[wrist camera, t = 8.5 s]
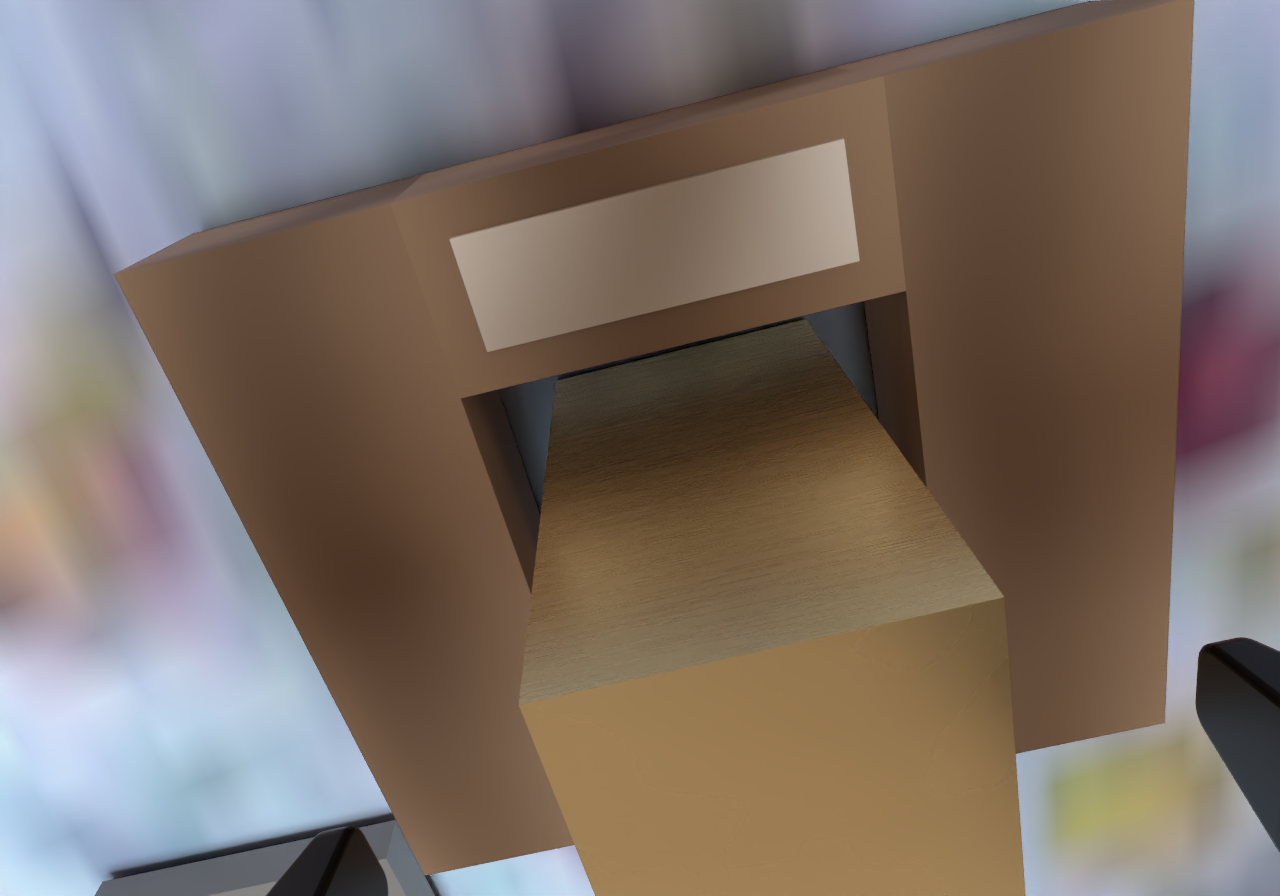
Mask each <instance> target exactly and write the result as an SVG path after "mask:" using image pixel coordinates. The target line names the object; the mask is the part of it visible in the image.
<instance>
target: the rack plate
mask: <svg viewBox="0 0 1280 896" xmlns="http://www.w3.org/2000/svg"><path fill="white" fill-rule="evenodd" d="M1193 16H1194V0H1102V1H1088V2H1084V3H1080V4H1076V5H1072V6H1069V7H1065V8H1061V9H1057V10H1053V11H1049V12H1045V13H1042V14H1038V15H1034V16H1030V17H1026V18H1022V19H1018V20H1015V21H1011V22H1007V23H1003V24H999V25H995V26H991V27H988V28H984V29H980V30H976V31H972V32H968V33H964V34H961V35H957V36H953V37H949V38H945V39H941V40H937V41H934V42H930V43H926V44H922V45H918V46H914V47H910V48H907V49H903V50H899V51H895V52H891V53H887V54H883V55H880V56H876V57H872V58H868V59H864V60H860V61H856V62H853V63H849V64H845V65H841V66H837V67H833V68H829V69H826V70H822V71H818V72H814V73H810V74H806V75H802V76H799V77H795V78H791V79H787V80H783V81H779V82H775V83H772V84H768V85H764V86H760V87H756V88H752V89H748V90H745V91H741V92H737V93H733V94H729V95H725V96H721V97H718V98H714V99H710V100H706V101H702V102H698V103H694V104H691V105H687V106H683V107H679V108H675V109H671V110H667V111H664V112H660V113H656V114H652V115H648V116H644V117H640V118H637V119H633V120H629V121H625V122H621V123H617V124H613V125H610V126H606V127H602V128H598V129H594V130H590V131H587V132H583V133H579V134H575V135H571V136H567V137H563V138H560V139H556V140H552V141H548V142H544V143H540V144H536V145H533V146H529V147H525V148H521V149H517V150H513V151H509V152H506V153H502V154H498V155H494V156H490V157H486V158H482V159H479V160H475V161H471V162H467V163H463V164H459V165H455V166H452V167H448V168H444V169H440V170H436V171H432V172H428V173H425V174H421V175H417V176H413V177H409V178H405V179H401V180H398V181H394V182H390V183H386V184H382V185H378V186H374V187H371V188H367V189H363V190H359V191H355V192H351V193H347V194H344V195H340V196H336V197H332V198H328V199H324V200H320V201H317V202H313V203H309V204H305V205H301V206H297V207H293V208H290V209H286V210H282V211H278V212H274V213H270V214H266V215H263V216H259V217H255V218H251V219H247V220H243V221H239V222H236V223H232V224H228V225H224V226H220V227H216V228H212V229H209V230H205V231H201V232H197V233H193V234H191V235H189V236H187V237H185V238H184V239H182V240H180V241H178V242H176V243H174V244H172V245H170V246H168V247H166V248H164V249H162V250H160V251H158V252H156V253H155V254H153V255H151V256H149V257H147V258H145V259H143V260H141V261H139V262H137V263H135V264H133V265H131V266H129V267H127V268H125V269H124V270H122V271H120V272H118V273H116V274H114V276H115V278H116V280H117V282H118V284H119V285H120V287H121V289H122V291H123V293H124V295H125V297H126V299H127V301H128V303H129V305H130V307H131V309H132V311H133V313H134V314H135V316H136V318H137V320H138V322H139V324H140V326H141V328H142V330H143V332H144V334H145V336H146V338H147V340H148V341H149V343H150V345H151V347H152V349H153V351H154V353H155V355H156V357H157V359H158V361H159V363H160V365H161V367H162V369H163V370H164V372H165V374H166V376H167V378H168V380H169V382H170V384H171V386H172V388H173V390H174V392H175V394H176V396H177V398H178V399H179V401H180V403H181V405H182V407H183V409H184V411H185V413H186V415H187V417H188V419H189V421H190V423H191V425H192V427H193V428H194V430H195V432H196V434H197V436H198V438H199V440H200V442H201V444H202V446H203V448H204V450H205V452H206V454H207V456H208V457H209V459H210V461H211V463H212V465H213V467H214V469H215V471H216V473H217V475H218V477H219V479H220V481H221V483H222V484H223V486H224V488H225V490H226V492H227V494H228V496H229V498H230V500H231V502H232V504H233V506H234V508H235V510H236V512H237V513H238V515H239V517H240V519H241V521H242V523H243V525H244V527H245V529H246V531H247V533H248V535H249V537H250V539H251V541H252V542H253V544H254V546H255V548H256V550H257V552H258V554H259V556H260V558H261V560H262V562H263V564H264V566H265V568H266V570H267V571H268V573H269V575H270V577H271V579H272V581H273V583H274V585H275V587H276V589H277V591H278V593H279V595H280V597H281V598H282V600H283V602H284V604H285V606H286V608H287V610H288V612H289V614H290V616H291V618H292V620H293V622H294V624H295V626H296V627H297V629H298V631H299V633H300V635H301V637H302V639H303V641H304V643H305V645H306V647H307V649H308V651H309V653H310V655H311V656H312V658H313V660H314V662H315V664H316V666H317V668H318V670H319V672H320V674H321V676H322V678H323V680H324V682H325V684H326V685H327V687H328V689H329V691H330V693H331V695H332V697H333V699H334V701H335V703H336V705H337V707H338V709H339V711H340V712H341V714H342V716H343V718H344V720H345V722H346V724H347V726H348V728H349V730H350V732H351V734H352V736H353V738H354V740H355V741H356V743H357V745H358V747H359V749H360V751H361V753H362V755H363V757H364V759H365V761H366V763H367V765H368V767H369V769H370V770H371V772H372V774H373V776H374V778H375V780H376V782H377V784H378V786H379V788H380V790H381V792H382V794H383V796H384V798H385V799H386V801H387V803H388V805H389V807H390V809H391V811H392V813H393V815H394V817H395V819H396V821H397V823H398V825H399V826H400V828H401V830H402V832H403V834H404V836H405V838H406V840H407V842H408V844H409V846H410V848H411V850H412V852H413V854H414V855H415V857H416V859H417V861H418V863H419V865H420V867H421V869H422V871H423V873H424V875H425V876H426V875H431V874H435V873H440V872H445V871H450V870H455V869H460V868H464V867H469V866H474V865H479V864H484V863H489V862H493V861H498V860H503V859H508V858H513V857H518V856H523V855H527V854H532V853H537V852H542V851H547V850H552V849H556V848H561V847H566V846H571V845H575V844H574V842H573V839H572V837H571V834H570V832H569V829H568V827H567V824H566V822H565V819H564V817H563V814H562V812H561V809H560V807H559V804H558V802H557V799H556V797H555V794H554V792H553V789H552V787H551V784H550V782H549V779H548V777H547V774H546V772H545V769H544V767H543V764H542V762H541V759H540V757H539V754H538V752H537V750H536V747H535V745H534V742H533V740H532V737H531V735H530V732H529V730H528V727H527V725H526V722H525V720H524V717H523V715H522V712H521V710H520V707H519V698H520V689H521V680H522V672H523V663H524V654H525V646H526V637H527V628H528V620H529V611H530V603H531V594H532V585H533V577H534V568H535V559H536V551H537V542H538V533H539V525H540V513H539V510H538V507H537V504H536V501H535V498H534V495H533V492H532V489H531V486H530V483H529V481H528V478H527V475H526V472H525V469H524V466H523V463H522V460H521V457H520V454H519V451H518V448H517V445H516V442H515V439H514V436H513V433H512V430H511V427H510V424H509V421H508V418H507V415H506V412H505V409H504V406H503V403H502V400H501V398H500V395H499V392H498V389H502V388H506V387H510V386H514V385H519V384H523V383H527V382H531V381H535V380H539V379H543V378H547V377H552V376H556V375H560V374H564V373H568V372H572V371H576V370H581V369H585V368H589V367H593V366H597V365H601V364H605V363H610V362H614V361H618V360H622V359H626V358H630V357H634V356H638V355H643V354H647V353H651V352H655V351H659V350H663V349H667V348H672V347H676V346H680V345H684V344H688V343H692V342H696V341H701V340H705V339H709V338H713V337H717V336H721V335H725V334H729V333H734V332H738V331H742V330H746V329H750V328H754V327H758V326H763V325H767V324H771V323H775V322H779V321H783V320H787V319H792V318H796V317H800V316H804V315H808V314H812V313H816V312H821V311H825V310H829V309H833V308H837V307H841V306H845V305H849V304H854V303H858V302H862V301H864V305H865V313H866V321H867V329H868V337H869V344H870V352H871V360H872V368H873V376H874V384H875V391H876V399H877V407H878V415H879V422H880V424H881V425H882V426H883V428H884V429H885V431H886V432H887V433H888V435H889V436H890V438H891V439H892V440H893V442H894V443H895V445H896V446H897V447H898V449H899V450H900V452H901V453H902V454H903V456H904V457H905V459H906V460H907V461H908V463H909V464H910V466H911V467H912V468H913V470H914V471H915V473H916V474H917V475H918V477H919V478H920V480H921V481H922V482H923V484H924V485H925V487H926V488H927V489H928V491H929V492H930V494H931V495H932V496H933V498H934V499H935V501H936V502H937V503H938V505H939V506H940V508H941V509H942V510H943V512H944V513H945V515H946V516H947V517H948V519H949V520H950V522H951V523H952V524H953V526H954V527H955V529H956V530H957V531H958V533H959V534H960V536H961V537H962V539H963V540H964V541H965V543H966V544H967V546H968V547H969V548H970V550H971V551H972V553H973V554H974V555H975V557H976V558H977V560H978V561H979V562H980V564H981V565H982V567H983V568H984V569H985V571H986V572H987V574H988V575H989V576H990V578H991V579H992V581H993V582H994V583H995V585H996V586H997V588H998V589H999V590H1000V592H1001V593H1002V595H1003V596H1004V599H1005V613H1006V628H1007V642H1008V656H1009V670H1010V684H1011V698H1012V712H1013V727H1014V741H1015V754H1017V753H1021V752H1026V751H1031V750H1036V749H1041V748H1046V747H1050V746H1055V745H1060V744H1065V743H1070V742H1075V741H1079V740H1084V739H1089V738H1094V737H1099V736H1104V735H1109V734H1113V733H1118V732H1123V731H1128V730H1133V729H1138V728H1142V727H1147V726H1152V725H1157V724H1162V723H1165V705H1166V681H1167V656H1168V631H1169V607H1170V582H1171V557H1172V533H1173V508H1174V484H1175V459H1176V434H1177V410H1178V385H1179V361H1180V336H1181V311H1182V287H1183V262H1184V237H1185V213H1186V188H1187V164H1188V139H1189V114H1190V90H1191V65H1192V41H1193Z"/></svg>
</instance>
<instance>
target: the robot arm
mask: <svg viewBox="0 0 1280 896" xmlns="http://www.w3.org/2000/svg"><path fill="white" fill-rule="evenodd" d="M1196 710H1197V714H1198V718H1199V720H1200V723H1201V725H1202V727H1203V729H1204V730H1205V732H1206V734H1207V735H1208V737H1209V739H1210V740H1211V742H1212V743H1213V745H1214V747H1215V748H1216V750H1217V752H1218V753H1219V755H1220V757H1221V758H1222V760H1223V761H1224V763H1225V765H1226V766H1227V768H1228V770H1229V771H1230V773H1231V774H1232V776H1233V778H1234V779H1235V781H1236V783H1237V784H1238V786H1239V787H1240V789H1241V791H1242V792H1243V794H1244V796H1245V797H1246V799H1247V801H1248V802H1249V804H1250V805H1251V807H1252V809H1253V810H1254V812H1255V814H1256V815H1257V817H1258V818H1259V820H1260V822H1261V823H1262V825H1263V827H1264V828H1265V830H1266V831H1267V833H1268V835H1269V836H1270V838H1271V840H1272V841H1273V843H1274V844H1275V846H1276V848H1277V849H1278V851H1279V852H1280V651H1278V650H1276V649H1273V648H1271V647H1269V646H1266V645H1264V644H1262V643H1259V642H1257V641H1255V640H1252V639H1249V638H1234V639H1229V640H1224V641H1219V642H1215V643H1210V644H1207V645H1205V646H1203V647H1202V649H1201V650H1200V652H1199V657H1198V671H1197V687H1196ZM265 896H388V883H387V878H386V875H385V872H384V870H383V868H382V866H381V865H380V863H379V861H378V859H377V857H376V855H375V854H374V852H373V850H372V848H371V846H370V844H369V843H368V841H367V839H366V837H365V835H364V834H363V832H362V831H361V829H359V828H358V827H356V826H351V825H350V826H345V827H340V828H336V829H331V830H326V831H323V832H321V833H319V834H317V835H316V836H315V837H314V838H313V839H312V840H311V841H310V843H309V844H308V845H307V846H306V847H305V849H304V850H303V851H302V852H301V853H300V855H299V856H298V857H297V858H296V859H295V861H294V862H293V863H292V864H291V865H290V867H289V868H288V869H287V870H286V871H285V873H284V874H283V875H282V876H281V877H280V879H279V880H278V881H277V882H276V883H275V885H274V886H273V887H272V888H271V889H270V891H269V892H268V893H267V894H266V895H265Z"/></svg>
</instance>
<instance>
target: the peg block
mask: <svg viewBox="0 0 1280 896" xmlns="http://www.w3.org/2000/svg"><path fill="white" fill-rule="evenodd" d="M519 707H520V710H521V712H522V715H523V717H524V720H525V722H526V725H527V727H528V730H529V732H530V735H531V737H532V740H533V742H534V745H535V747H536V750H537V752H538V754H539V757H540V759H541V762H542V764H543V767H544V769H545V772H546V774H547V777H548V779H549V782H550V784H551V787H552V789H553V792H554V794H555V797H556V799H557V802H558V804H559V807H560V809H561V812H562V814H563V817H564V819H565V822H566V824H567V827H568V829H569V832H570V834H571V837H572V839H573V842H574V844H575V847H576V849H577V852H578V854H579V856H580V859H581V861H582V864H583V866H584V869H585V871H586V874H587V876H588V879H589V881H590V884H591V886H592V889H593V891H594V894H595V896H1025V882H1024V868H1023V854H1022V840H1021V826H1020V811H1019V797H1018V783H1017V769H1016V755H1015V741H1014V727H1013V712H1012V698H1011V684H1010V670H1009V656H1008V642H1007V628H1006V613H1005V599H1004V596H1003V595H1002V593H1001V592H1000V590H999V589H998V588H997V586H996V585H995V583H994V582H993V581H992V579H991V578H990V576H989V575H988V574H987V572H986V571H985V569H984V568H983V567H982V565H981V564H980V562H979V561H978V560H977V558H976V557H975V555H974V554H973V553H972V551H971V550H970V548H969V547H968V546H967V544H966V543H965V541H964V540H963V539H962V537H961V536H960V534H959V533H958V531H957V530H956V529H955V527H954V526H953V524H952V523H951V522H950V520H949V519H948V517H947V516H946V515H945V513H944V512H943V510H942V509H941V508H940V506H939V505H938V503H937V502H936V501H935V499H934V498H933V496H932V495H931V494H930V492H929V491H928V489H927V488H926V487H925V485H924V484H923V482H922V481H921V480H920V478H919V477H918V475H917V474H916V473H915V471H914V470H913V468H912V467H911V466H910V464H909V463H908V461H907V460H906V459H905V457H904V456H903V454H902V453H901V452H900V450H899V449H898V447H897V446H896V445H895V443H894V442H893V440H892V439H891V438H890V436H889V435H888V433H887V432H886V431H885V429H884V428H883V426H882V425H881V424H880V422H879V421H878V419H877V418H876V417H875V415H874V414H873V412H872V411H871V410H870V408H869V407H868V405H867V404H866V403H865V401H864V400H863V398H862V397H861V396H860V394H859V393H858V391H857V390H856V389H855V387H854V386H853V384H852V383H851V381H850V380H849V379H848V377H847V376H846V374H845V373H844V372H843V370H842V369H841V367H840V366H839V365H838V363H837V362H836V360H835V359H834V358H833V356H832V355H831V353H830V352H829V351H828V349H827V348H826V346H825V345H824V344H823V342H822V341H821V339H820V338H819V337H818V335H817V334H816V332H815V331H814V330H813V328H812V327H811V325H810V324H809V323H808V321H807V320H806V319H805V320H801V321H797V322H793V323H788V324H784V325H780V326H776V327H772V328H768V329H764V330H760V331H756V332H752V333H748V334H744V335H740V336H736V337H732V338H728V339H724V340H720V341H716V342H711V343H707V344H703V345H699V346H695V347H691V348H687V349H683V350H679V351H675V352H671V353H667V354H663V355H659V356H655V357H651V358H647V359H643V360H638V361H634V362H630V363H626V364H622V365H618V366H614V367H610V368H606V369H602V370H598V371H594V372H590V373H586V374H582V375H578V376H574V377H570V378H566V379H561V380H557V381H556V386H555V395H554V404H553V412H552V421H551V430H550V438H549V447H548V456H547V464H546V473H545V481H544V490H543V499H542V507H541V516H540V525H539V533H538V542H537V551H536V559H535V568H534V577H533V585H532V594H531V603H530V611H529V620H528V628H527V637H526V646H525V654H524V663H523V672H522V680H521V689H520V698H519Z"/></svg>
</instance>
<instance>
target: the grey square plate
mask: <svg viewBox="0 0 1280 896" xmlns="http://www.w3.org/2000/svg"><path fill="white" fill-rule="evenodd" d="M359 829H361V831H362V832H363V834H364V835H365V837H366V839H367V841H368V843H369V844H370V846H371V848H372V850H373V852H374V854H375V855H376V857H377V859H378V861H379V863H380V865H381V866H382V868H383V870H384V872H385V875H386V878H387V883H388V896H435V895H434V893H433V891H432V889H431V887H430V885H429V883H428V881H427V879H426V877H425V875H424V873H423V872H422V870H421V868H420V866H419V864H418V862H417V860H416V858H415V856H414V854H413V852H412V850H411V848H410V846H409V845H408V843H407V841H406V839H405V837H404V835H403V833H402V831H401V829H400V827H399V825H398V823H397V821H396V820H393V821H388V822H383V823H379V824H374V825H369V826H364V827H360V828H359ZM313 838H314V837H312V838H307V839H303V840H298V841H293V842H289V843H284V844H279V845H274V846H270V847H265V848H260V849H255V850H251V851H246V852H241V853H236V854H232V855H227V856H222V857H218V858H213V859H208V860H203V861H199V862H194V863H189V864H184V865H180V866H175V867H170V868H165V869H161V870H156V871H151V872H146V873H142V874H137V875H132V876H128V877H123V878H118V879H113V880H109V881H104V882H102V884H101V886H100V887H99V889H98V891H97V893H96V894H95V896H265V895H266V894H267V893H268V892H269V891H270V889H271V888H272V887H273V886H274V885H275V883H276V882H277V881H278V880H279V879H280V877H281V876H282V875H283V874H284V873H285V871H286V870H287V869H288V868H289V867H290V865H291V864H292V863H293V862H294V861H295V859H296V858H297V857H298V856H299V855H300V853H301V852H302V851H303V850H304V849H305V847H306V846H307V845H308V844H309V843H310V841H311V840H312V839H313Z"/></svg>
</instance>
